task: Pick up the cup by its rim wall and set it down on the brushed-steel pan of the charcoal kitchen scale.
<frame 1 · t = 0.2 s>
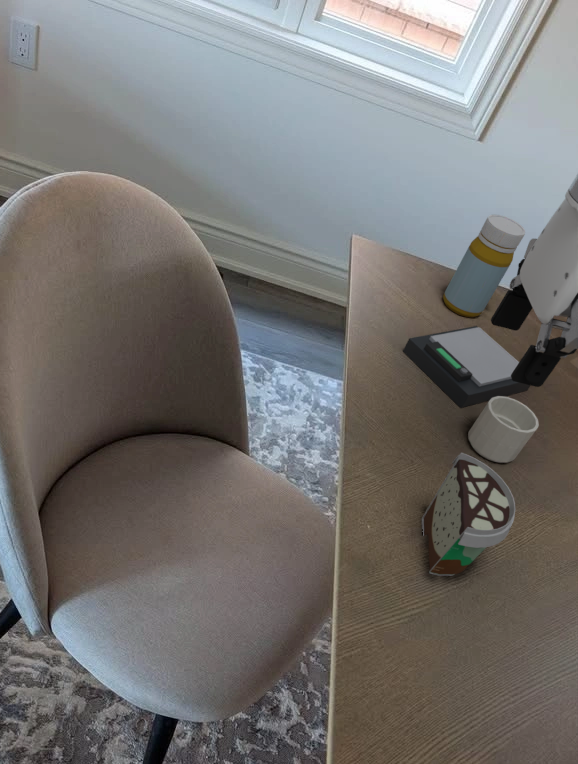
hand: (513, 353, 77), 21 cm above the table, tool pointing down, fingers open, 9 cm apart
cup: (490, 446, 101), on the table
food container: (447, 556, 84), on the table
bottle: (460, 307, 126), on the table
scale: (465, 370, 112), on the table
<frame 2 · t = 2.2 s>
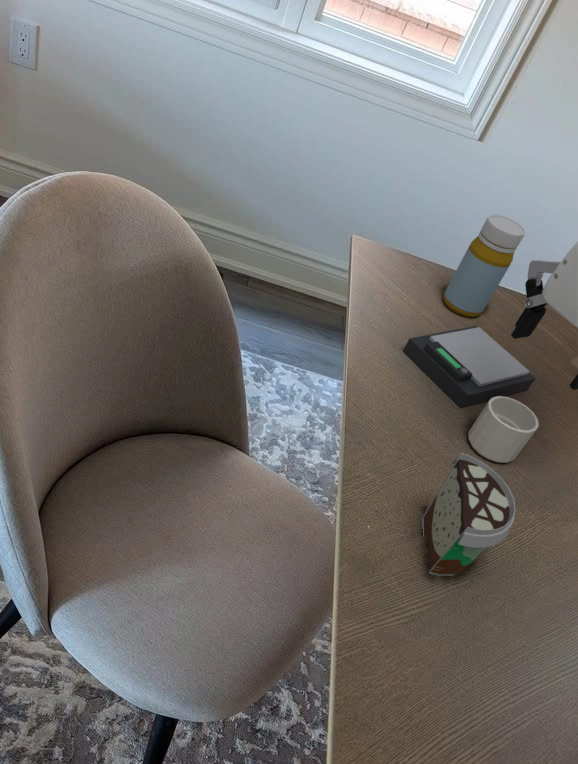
hand: (548, 360, 90), 15 cm above the table, tool pointing down, fingers open, 9 cm apart
nothing on the table moved.
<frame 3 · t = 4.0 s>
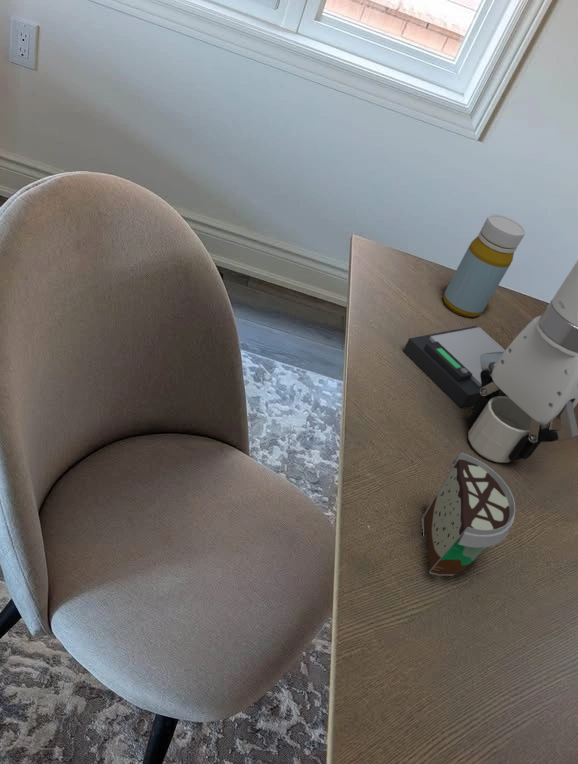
hand: (496, 437, 99), 2 cm above the table, tool pointing down, fingers closed on cup, 6 cm apart
cup: (490, 446, 101), on the table, touching gripper
everything else where it was.
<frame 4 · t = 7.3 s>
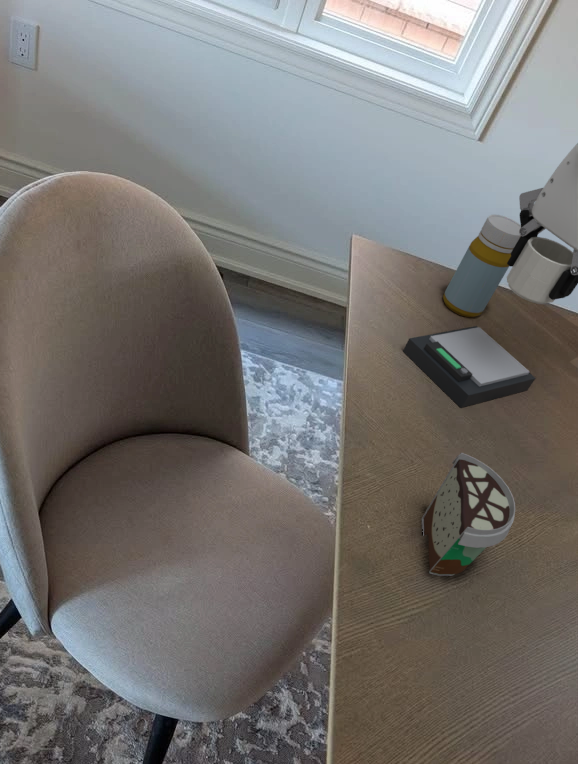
hand: (536, 279, 99), 17 cm above the table, tool pointing down, fingers closed on cup, 6 cm apart
cup: (528, 291, 100), point 15 cm above the table, touching gripper
everything else where it was.
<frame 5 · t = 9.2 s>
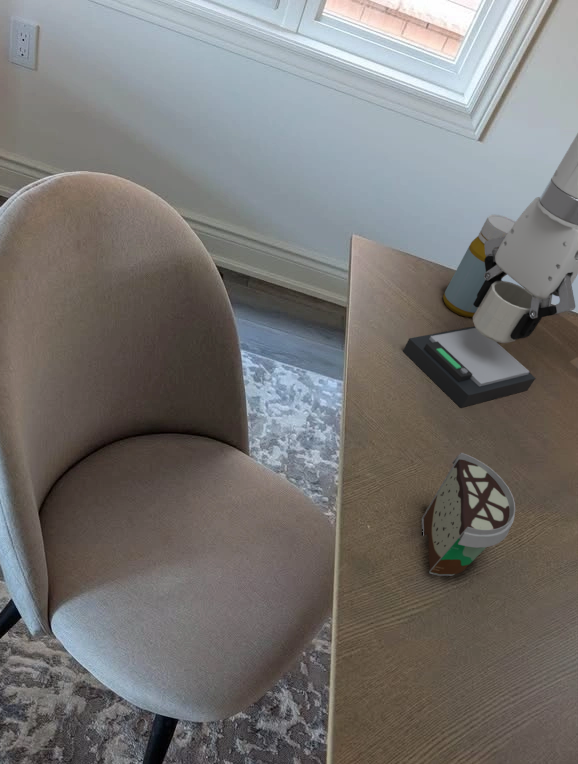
hand: (499, 320, 107), 9 cm above the table, tool pointing down, fingers closed on cup, 6 cm apart
cup: (493, 330, 108), point 7 cm above the table, touching gripper
everything else where it was.
when the fingers open (5 cm above the table, at t = 10.8 s): cup stays where it is, resting on scale.
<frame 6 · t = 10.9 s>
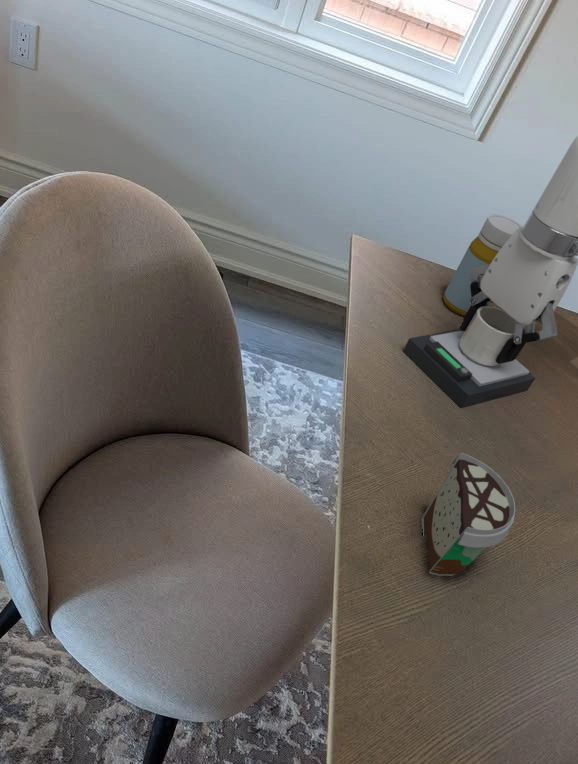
hand: (485, 344, 110), 5 cm above the table, tool pointing down, fingers open, 7 cm apart
cup: (479, 353, 111), point 3 cm above the table, touching scale
everything else where it was.
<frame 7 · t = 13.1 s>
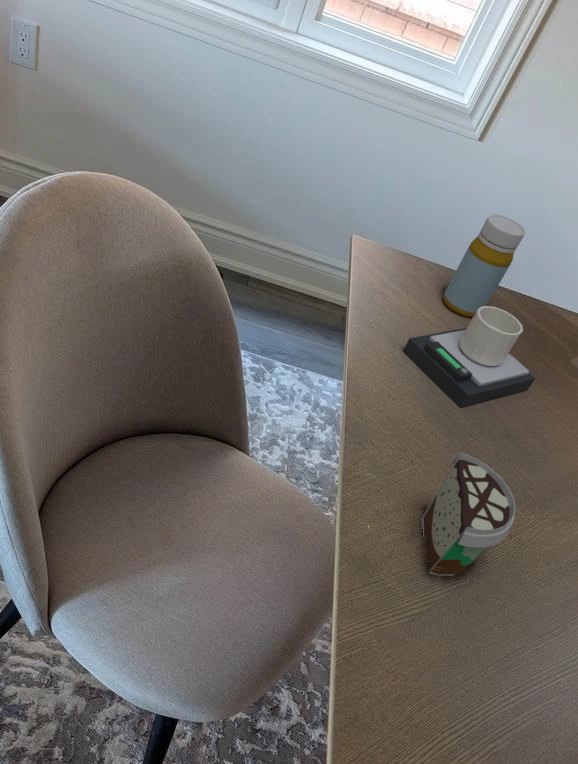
nothing on the table moved.
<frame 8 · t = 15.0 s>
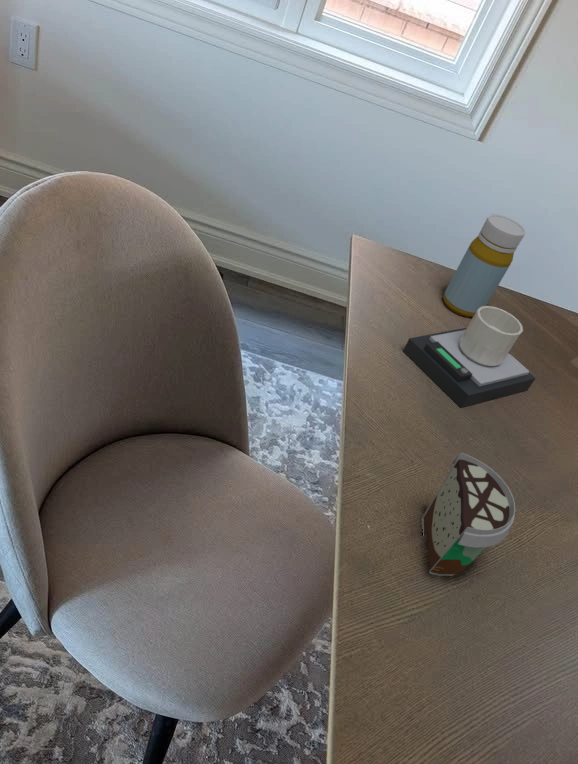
nothing on the table moved.
at the end: cup inside the target area on the scale (0.1 cm from its centre), point 3.0 cm above the scale's base; cup tilted 0°; the gripper is holding nothing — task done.
